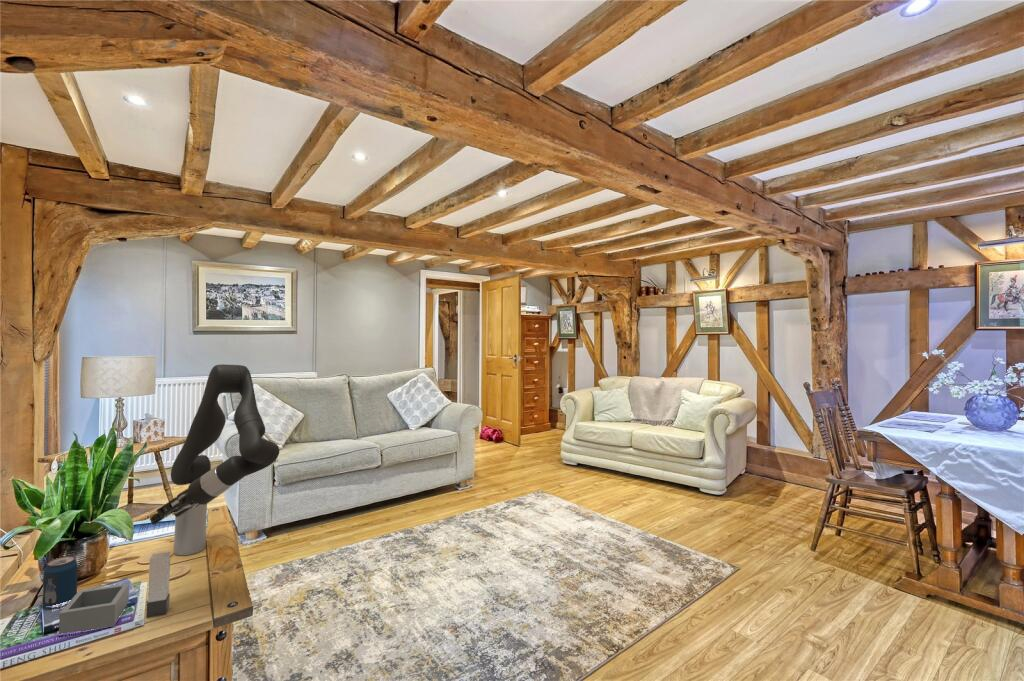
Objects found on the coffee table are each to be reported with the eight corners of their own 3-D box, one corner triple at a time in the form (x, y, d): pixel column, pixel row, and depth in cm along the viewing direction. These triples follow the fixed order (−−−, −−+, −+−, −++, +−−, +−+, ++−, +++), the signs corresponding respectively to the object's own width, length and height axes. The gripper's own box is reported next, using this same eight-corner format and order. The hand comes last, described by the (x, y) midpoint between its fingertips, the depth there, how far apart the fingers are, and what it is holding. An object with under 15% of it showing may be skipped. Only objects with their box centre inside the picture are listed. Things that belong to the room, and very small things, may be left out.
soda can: (77, 593, 134) (79, 552, 134) (75, 604, 129) (77, 561, 129) (43, 601, 129) (45, 559, 129) (40, 613, 124) (42, 569, 124)
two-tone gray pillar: (149, 611, 127) (152, 553, 127) (169, 607, 129) (171, 551, 129) (146, 618, 124) (148, 559, 124) (166, 614, 126) (168, 556, 126)
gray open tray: (78, 612, 125) (78, 590, 125) (128, 604, 129) (129, 583, 129) (58, 637, 115) (59, 613, 115) (114, 627, 120) (115, 604, 120)
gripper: (221, 470, 140) (176, 501, 139) (188, 477, 126) (137, 512, 125) (233, 490, 139) (188, 522, 138) (201, 500, 125) (150, 536, 124)
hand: (163, 517), depth 131 cm, fingers open, 8 cm apart
